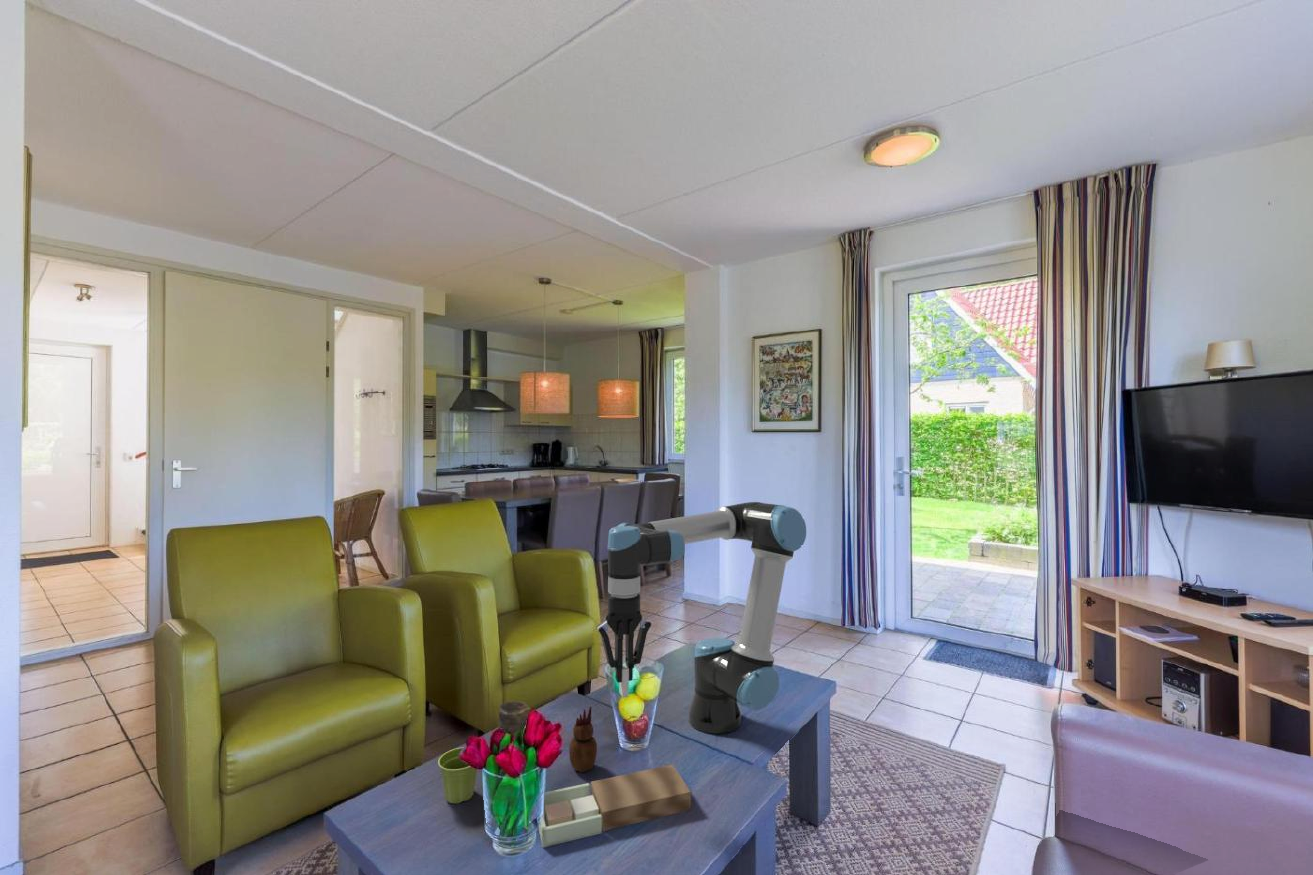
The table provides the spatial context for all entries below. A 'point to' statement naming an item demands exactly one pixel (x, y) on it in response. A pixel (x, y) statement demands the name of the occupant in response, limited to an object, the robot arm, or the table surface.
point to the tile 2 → (584, 807)
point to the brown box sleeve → (640, 796)
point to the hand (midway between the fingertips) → (624, 694)
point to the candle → (513, 716)
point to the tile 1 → (557, 813)
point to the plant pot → (457, 777)
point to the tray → (571, 828)
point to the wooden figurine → (583, 744)
